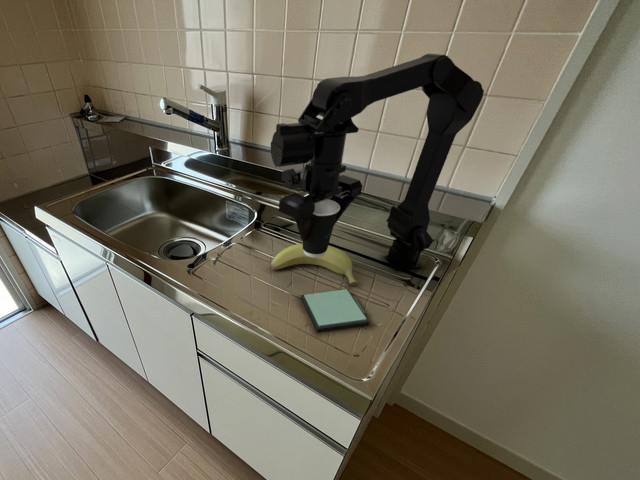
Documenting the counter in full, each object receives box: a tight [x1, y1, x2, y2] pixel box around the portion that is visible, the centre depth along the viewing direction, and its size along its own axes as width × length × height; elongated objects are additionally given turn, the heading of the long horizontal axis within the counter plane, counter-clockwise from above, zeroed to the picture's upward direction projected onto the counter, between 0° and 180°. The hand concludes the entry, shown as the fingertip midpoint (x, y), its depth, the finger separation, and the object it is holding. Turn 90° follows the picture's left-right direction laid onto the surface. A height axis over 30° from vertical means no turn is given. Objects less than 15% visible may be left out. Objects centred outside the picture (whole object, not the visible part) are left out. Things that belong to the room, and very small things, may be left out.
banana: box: [270, 242, 358, 287], centre depth 83 cm, size 14×6×20 cm
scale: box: [300, 288, 370, 334], centre depth 72 cm, size 12×11×2 cm
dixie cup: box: [301, 199, 340, 258], centre depth 72 cm, size 8×8×11 cm
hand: (316, 234), depth 73 cm, fingers closed on dixie cup, 8 cm apart
